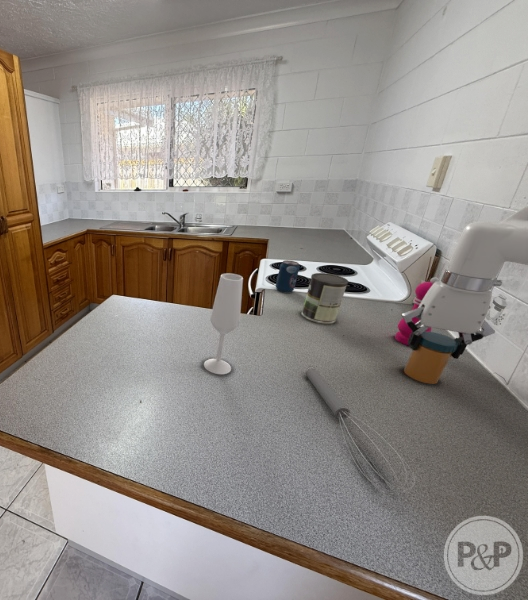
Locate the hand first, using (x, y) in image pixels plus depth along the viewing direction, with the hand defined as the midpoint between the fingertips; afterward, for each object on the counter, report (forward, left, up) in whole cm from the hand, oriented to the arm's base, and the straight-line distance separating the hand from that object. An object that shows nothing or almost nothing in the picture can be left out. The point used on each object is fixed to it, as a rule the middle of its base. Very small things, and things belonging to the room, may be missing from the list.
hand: (432, 351), depth 74 cm
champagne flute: (+48, +13, -7) cm, 50 cm away
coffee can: (+17, -28, -7) cm, 34 cm away
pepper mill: (-5, -19, -7) cm, 21 cm away
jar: (0, 0, -7) cm, 7 cm away
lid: (0, 0, +3) cm, 3 cm away
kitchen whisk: (+24, +25, -7) cm, 35 cm away
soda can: (+25, -51, -7) cm, 57 cm away
